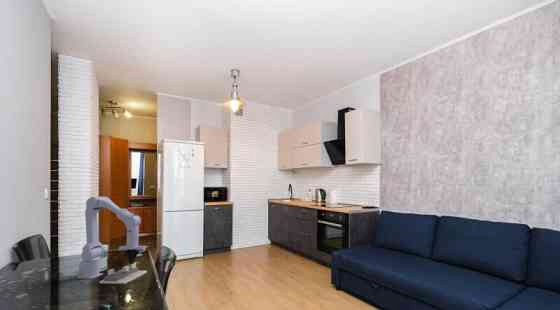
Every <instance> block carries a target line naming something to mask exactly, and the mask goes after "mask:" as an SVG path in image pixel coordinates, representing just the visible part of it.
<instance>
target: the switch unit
mask: <svg viewBox="0 0 560 310" xmlns="http://www.w3.org/2000/svg"><path fill="white" fill-rule="evenodd" d="M147 273H148V270H139V266H138V267H137V266H136V267H135V268H133V269H130V266H129V271H126V272H123V268H122V269H121V270H120V269H119V270H118V271H114V274H112V275H108V274H107V275H106V276H104V277H103V279H102V280H99V284H115V285H116V284H117V285H118V284H120V285H122V284H123V285H125V284H127V283H129V282H131V281H133V280H135V279H137V278H138V277H141V276H142V275H145V274H147Z"/></svg>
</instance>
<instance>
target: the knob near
mask: <svg viewBox="0 0 560 310" xmlns="http://www.w3.org/2000/svg"><path fill="white" fill-rule="evenodd" d="M114 273H115V268H110V269H107V276H108V275H112V274H114Z"/></svg>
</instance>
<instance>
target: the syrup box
mask: <svg viewBox="0 0 560 310" xmlns="http://www.w3.org/2000/svg"><path fill="white" fill-rule="evenodd" d="M102 247H103V249H104V253H103V255H102V256H101V258H100V270H99V273H100V272H103V271H106V270H108V267H109V265H108V263H109V262H108V261H109V260H108V259H109V244H102ZM92 248H94V247H92Z"/></svg>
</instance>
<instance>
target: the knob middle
mask: <svg viewBox="0 0 560 310" xmlns="http://www.w3.org/2000/svg"><path fill="white" fill-rule="evenodd" d="M129 267H130V265H125V266H122V269H123V272H126V271H129Z"/></svg>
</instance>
